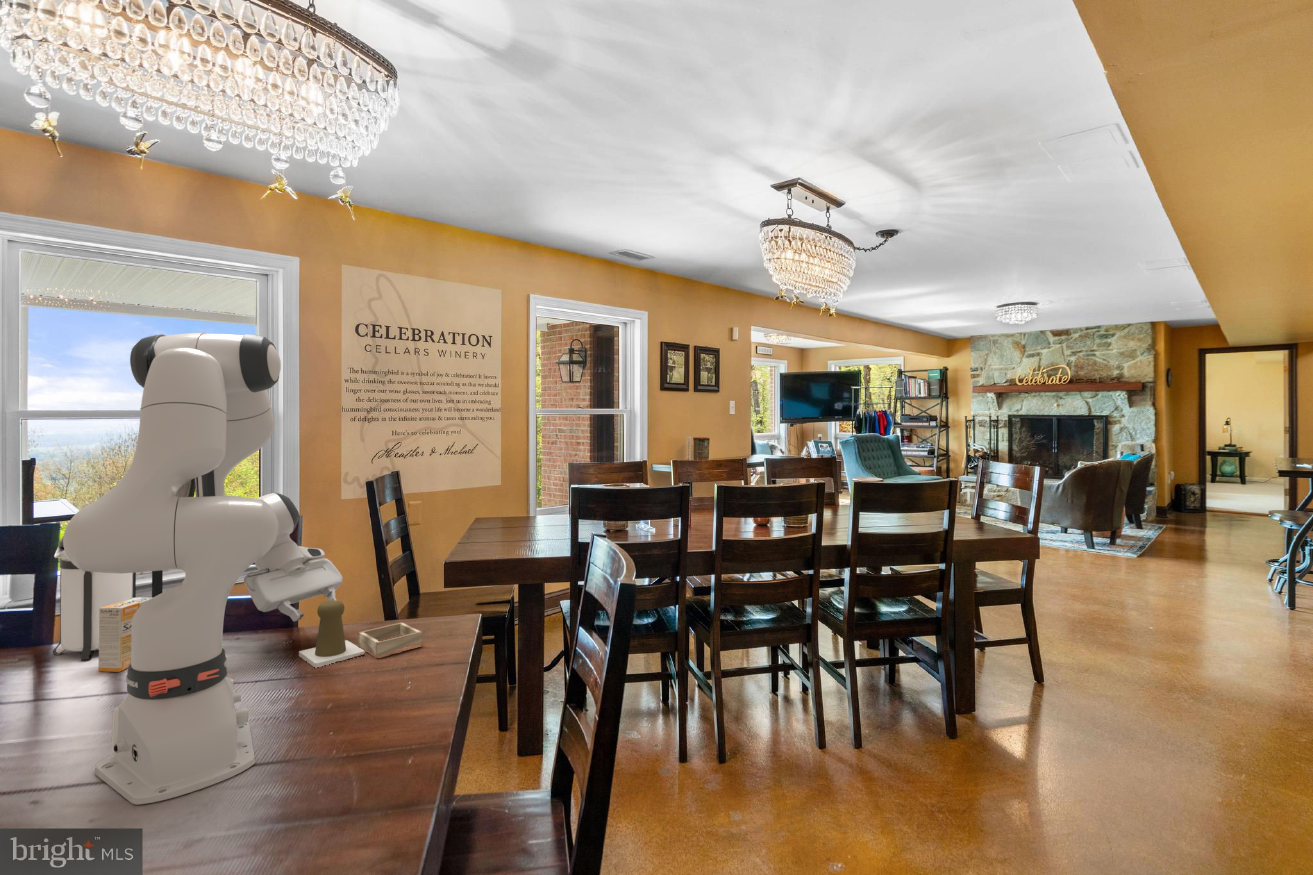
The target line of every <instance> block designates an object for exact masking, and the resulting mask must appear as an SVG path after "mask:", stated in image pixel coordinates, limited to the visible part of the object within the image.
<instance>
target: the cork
mask: <svg viewBox="0 0 1313 875" xmlns="http://www.w3.org/2000/svg"><path fill="white" fill-rule="evenodd" d="M316 613H317V616H318V618H320V619H319V624H318V631H317V636H316V642H315V643H316V644H315V647H316V649H315V655H316V656H319V657H329V656H335V655H339V654H341V653H344V652H345V651H346V645H345V640H346V638H345V631H344V626H343V624H344V623H343V616H342V615H343V614H344V613H345V604H344V603H343V601H340V600H338V599H336V600H332V601H328V600H326V601H324V602H321V603H320V604H319V605H318V607H317V612H316Z"/></svg>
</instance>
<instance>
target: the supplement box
mask: <svg viewBox="0 0 1313 875" xmlns="http://www.w3.org/2000/svg"><path fill="white" fill-rule="evenodd" d="M150 599H152V597H145V596H144V597H139V596H138V597H136V598H132V599H129V600H125V601H122V602H118V603H115V604H112V605H108V606H105V607H100V608H99V649H98V671H99V672H111V673H112V672H115V673H120V672H123V671H125V670H128V666H129V665H130V664H131V622H132V618H133V616H134V614H135V612H136V611H137V610H138V609H139V607H140V606H142V605H143V604H144V603H145V602H147V601H148V600H150Z"/></svg>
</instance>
